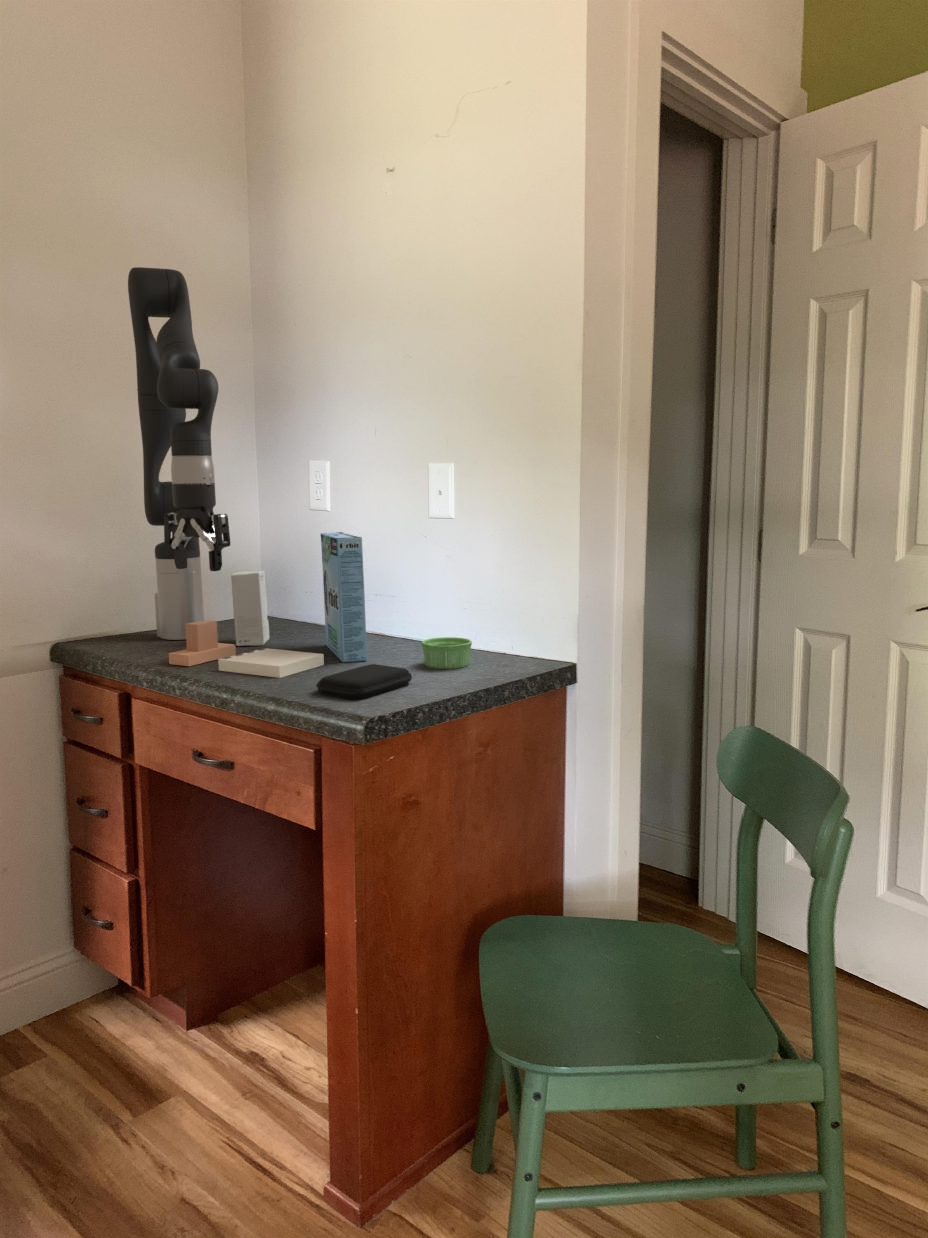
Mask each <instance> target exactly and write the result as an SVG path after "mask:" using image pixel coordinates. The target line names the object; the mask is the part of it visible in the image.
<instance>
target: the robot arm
mask: <svg viewBox="0 0 928 1238" xmlns="http://www.w3.org/2000/svg"><path fill="white" fill-rule="evenodd" d="M127 291H128V292H127V293H128V300H129V302H128V303H129V308H130V310H129V311H130V316H131V323H132V324H131V325H132V331H133V340H134V350H135V361H136V363H135V364H136V385H137V389H136V390H137V402H138V403H137V404H138V414H139V415H138V416H139V421H140V422H139V425H140V432H141V440H142V441H141V443H142V457H143V458H142V459H143V461H142V462H143V464H142V465H143V505H144V507H143V508H144V512H145V513H144V515H145V518H146V521H147V522H148V524H150V525H151V526H154V527H155V526H156V527H159V526H160V527H163V535H164V536H163V540H164V541H162V542H159V543H157V544H156V545H155V547H154V558H155V560H154V561H155V571H156V572H155V573H156V587H157V588H156V589H157V592H155V593H154V607H155V620H156V621H155V622H156V623H155V624H156V637H158V638H160V639H163V640H169V641H170V640H171V641H172V640H173V641H174V640H175V641H176V640H177V641H178V640H179V641H180V640H186V626H185V624H188V623H193V622H198V621H203V620H205V614H204V613H205V611H204V597H203V595H204V594H203V582H202V581H203V579H202V577H203V576H202V565H201V564H202V563H201V560H202V559H201V549H200V547H201V546H200V540H201V541H203V542H204V543H205V544H206V546H207V548H208V549H209V551H208V561H209V562H208V563H209V565H208V567H209V571H210V572H218V571H221V570H222V567H223V555H222V551H223V549H224V548H228V547H230V546H231V535H230V527H229V526H230V525H229V515H228V514H227V513H216V514H215V512H214V508H215V506H216V505H217V504H216V503H217V501H216V482H215V468H214V467H215V466H214V463H213V462H214V461H213V454H212V453H213V452H212V451H213V450H212V435H211V434H212V422H213V416H214V412H215V407H216V404H217V400H218V395H219V383H218V379H217V378H216V376H215V374H214V373H213V372H212V371H211V370H209V369H205V368H201V360H200V355H199V352H198V349H197V345H196V343H195V338H194V334H193V320H192V310H191V304H190V303H191V302H190V295H189V294H190V293H189V288H188V284H187V281H186V278H185V276H184V275H183V273H182V272H181V271H179V270H176V269H172V268H171V269H170V268H157V267H142V266H141V267H139V266H137V267H131V269H130V270H129V273H128V278H127ZM149 318H165V319H166V318H167V319H168V318H169V319H168V320H166V322H165V323H164V324H163V325H162V327H161V328H160V330H159V331H158V332H157V333H158V334H157V336H156V338H155V336H154V334H153V331H152V328H151V325H150V321H149ZM188 409H189V410H193V409H194V410H195V409H196V410H197V414H196V416H195V417H194V418H193V419H190V420H187V419H186V418H187V410H188ZM170 450H171V453H170V454H171V464H170V473H171V474H170V476H171V481H160V479H159V478H160V473H161V470H162V466H163V464H164V461H165V459H166V457H167V455H168V453H169V451H170ZM171 535H172V536H171Z"/></svg>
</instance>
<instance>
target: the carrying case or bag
mask: <svg viewBox="0 0 928 1238" xmlns="http://www.w3.org/2000/svg"><path fill="white" fill-rule="evenodd" d="M412 677H413V675H412V673H410V671H409V670H408V669H406V668H405V667H398V666H391V665H390V666H389V665H384V664H376V663H373V664H366V665H363V666H359V667H356V668H355V667H354V668H352V669H351V668H350V669H348V670H344V671H340V672H337V673H333V674H330V675H326V676H323V677H322V678H320V680H318V682H317V683H316V685H315V687H316V689H317V691H319V692H320V693H321V694H322V695H324V696H329V697H335V698H343V699H349V700H364V699H366V698H371V697H373V696H377V695H380V694H383V693H385V692H389V691H392V690H395V689H399V688H402V687H405V686H406V685H409V683H410V681H411V680H412Z"/></svg>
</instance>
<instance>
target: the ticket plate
mask: <svg viewBox="0 0 928 1238" xmlns="http://www.w3.org/2000/svg"><path fill="white" fill-rule="evenodd" d="M324 657H325V655H324V653H316V652H309V651H308V652H307V651H306V652H305V651H299V650H297V651H296V650H287V649H275V648H267V647H264V648H260V649H258V648H257V649H255V650H252V651H247V652H243V653H242V652H241V653H239V654H236V655H233V656H229V657H225V658H221V659H217V660H218V661H217V662H218V671H220V672H221V671H222V672H229V673H237V674H246V675H253V676H262V677H263V676H264V677H269V678H277V679H279V678H280V679H282V678H284V677H287V676H292V675H293V674H298V673H301V672H304V671H308V670H311V669H316V668H318V667H322V666H324V665H325V658H324Z"/></svg>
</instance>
